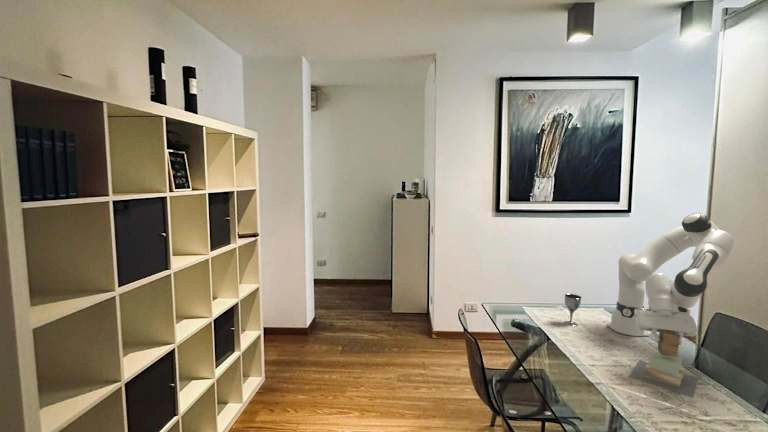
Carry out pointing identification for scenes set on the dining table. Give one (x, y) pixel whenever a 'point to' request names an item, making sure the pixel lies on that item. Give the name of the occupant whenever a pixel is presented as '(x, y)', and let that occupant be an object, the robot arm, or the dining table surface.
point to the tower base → (664, 376)
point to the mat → (685, 387)
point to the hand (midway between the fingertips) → (668, 343)
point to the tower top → (665, 363)
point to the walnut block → (668, 343)
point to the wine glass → (572, 306)
